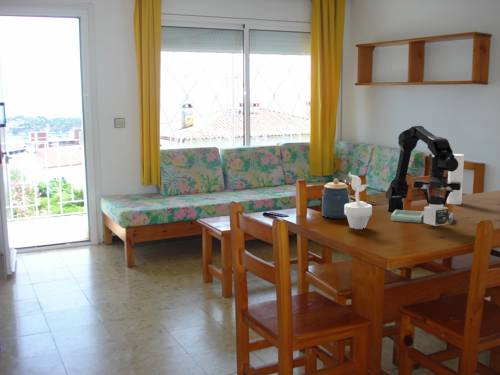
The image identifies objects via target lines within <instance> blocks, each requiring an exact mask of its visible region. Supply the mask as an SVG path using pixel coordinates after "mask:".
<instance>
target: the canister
mask: <svg viewBox="0 0 500 375" xmlns="http://www.w3.org/2000/svg"><path fill="white" fill-rule="evenodd" d="M323 188H324V189H322V190H321V193H322V197H321V215H322V217H323V216H324V217H323V218H326V217H329V218H328V219H333V218H341V219H347V218H346V217H347V216H346V215H345V214H344V205H345V204H348V203H351V202H350V200H351V198H350V193H351V191H350V190H349V189H348V188H349V185H347V183H346V182H340V180H339V178H334V179H333V182H332V181H331V182H327V183H326V184H324V185H323Z"/></svg>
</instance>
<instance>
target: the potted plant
mask: <svg viewBox="0 0 500 375" xmlns="http://www.w3.org/2000/svg"><path fill="white" fill-rule="evenodd" d="M347 175H348V177H349V178H351V182H350V181H349V182H348V184H349V185H351V188H352V190H353V191H354V192H355V193H354V195H355V196H354V197H355V201H353V202H350V203H348V204H345V205H344V214H345V215H346V216H347V218H346V219H347V222H348V225H349V228H351V229H353V228H354V230H364V229H365V228H366V227H367V224H368V222H369V219H370V217H372V215H373V205H372V204H370V203H368V202H365V201H362V200H360V192H363V191H364V190H366V188H367V187H370V186H371V184H362V179H361V178H360V177H359V176H358V175H354V174H352V173H351V172H348V173H347ZM346 182H347V180H346V179H344V183H346ZM363 228H364V229H363Z"/></svg>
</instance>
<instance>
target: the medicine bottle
mask: <svg viewBox="0 0 500 375" xmlns="http://www.w3.org/2000/svg"><path fill="white" fill-rule="evenodd" d="M444 198H445V196H443V195H439V194H434V195H429V205H426V206H424V207H423V212H424V222H423V224H427V225H430V226H434V227H437V226H438V227H439V226H444V225H448V224H449V219H448V212H449V208H448V207H446V206H444Z"/></svg>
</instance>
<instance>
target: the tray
mask: <svg viewBox="0 0 500 375" xmlns="http://www.w3.org/2000/svg"><path fill="white" fill-rule="evenodd" d="M423 214H424V210H422V211H420V210H395V211H394V212H392V213H391V215H390V221H391V222H393V221H395V222H405V223H418V224H420V223H421V224H422V223H423Z"/></svg>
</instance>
